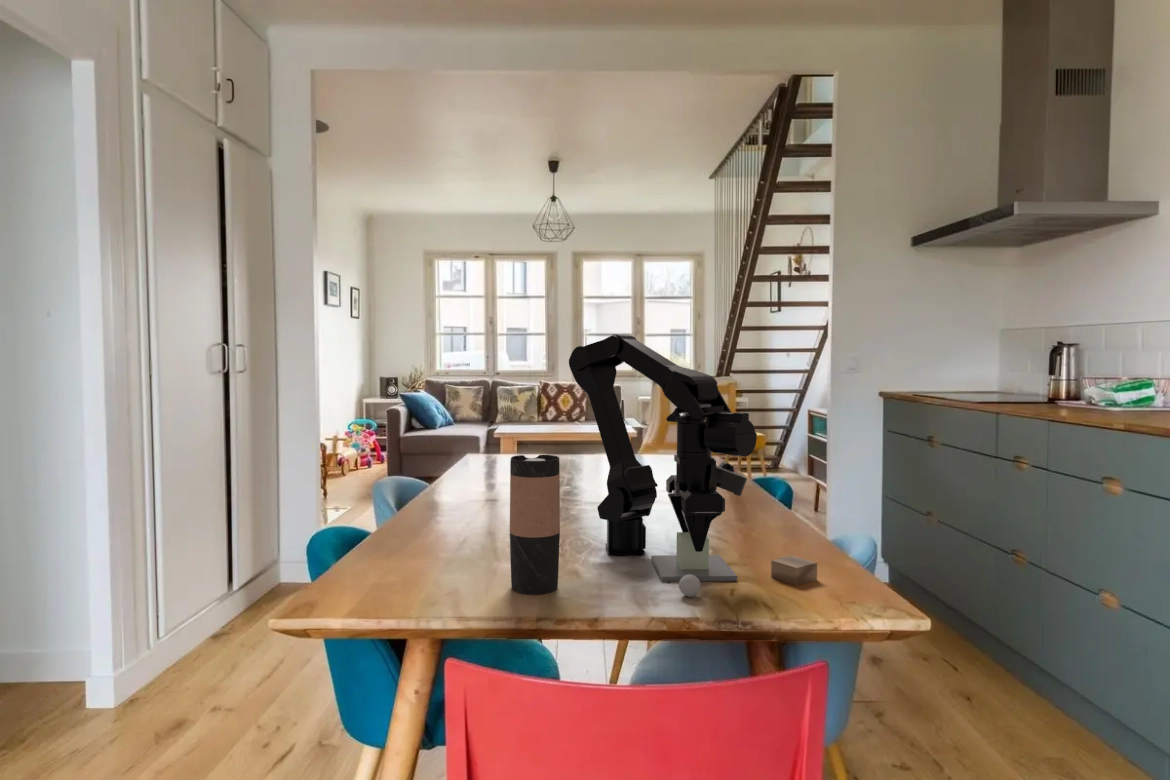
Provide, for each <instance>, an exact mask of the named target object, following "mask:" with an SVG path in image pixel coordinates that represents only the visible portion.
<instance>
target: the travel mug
mask: <svg viewBox="0 0 1170 780" xmlns="http://www.w3.org/2000/svg"><path fill="white" fill-rule="evenodd" d="M509 466H510V467H509V468H510V473H509V474H510V475H509V476H510V478H509V479H510V483H509V551H510V553H509V554H510V559H509V560H510V582H511V589H512V591H514V592H516V593H518V594H521V595H535V596H536V595H537V596H538V595H545V594H549V593H552V592H555V591H556V590H557V589H558V585H559V565H560V542H561V540H560V539H561V538H560V536H561V533H560V532H561V525H560V524H561V512H560V511H561V509H560V508H561V507H560V505H561V504H560V503H561V502H560V501H561V497H560V496H561V495H560V494H561V493H560V491H561V490H560V487H561V485H560V481H561V480H560V475H561V474H560V472H561V471H560V456H557V455H553V454H538V456H537V457H526V456H525V455H523V454H519V455H518V454H517V455H513V456H511V457H510V465H509Z"/></svg>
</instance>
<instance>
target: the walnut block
mask: <svg viewBox="0 0 1170 780" xmlns="http://www.w3.org/2000/svg"><path fill="white" fill-rule="evenodd" d="M770 563H771V565H770V566H771V572H770V574H771V576H770V578H772V579H776V580H779V581H782V582H786V583H788V584H791V585H794V586H800V585H803V584H808V583H810V582H814V581H817V580H818V562H816V561H813V560H810V559H805V558H802V557H799V556H796V555H788V556H784V557H780V558H776V559H771V561H770Z"/></svg>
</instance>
